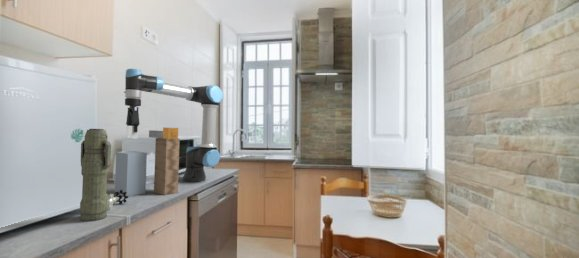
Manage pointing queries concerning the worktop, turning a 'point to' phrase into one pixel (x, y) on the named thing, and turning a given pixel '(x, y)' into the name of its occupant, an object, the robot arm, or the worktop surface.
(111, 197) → the valve
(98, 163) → the thermos
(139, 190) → the grey upright pillar
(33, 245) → the worktop surface
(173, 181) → the wooden upright block
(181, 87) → the robot arm
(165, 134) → the lockout bar
